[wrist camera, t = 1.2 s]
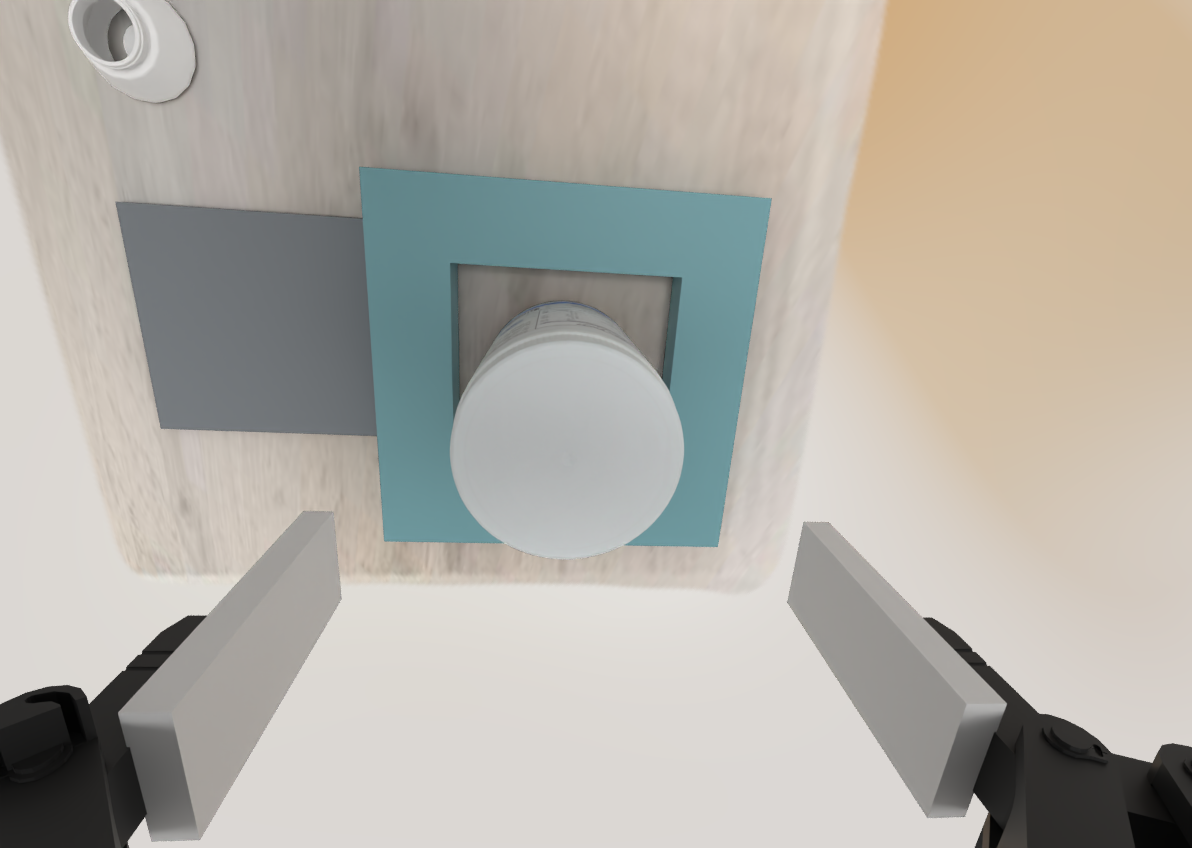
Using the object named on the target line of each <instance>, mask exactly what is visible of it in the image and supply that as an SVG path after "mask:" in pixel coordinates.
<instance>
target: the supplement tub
mask: <svg viewBox="0 0 1192 848" xmlns="http://www.w3.org/2000/svg"><path fill="white" fill-rule="evenodd" d="M683 459H684V439H683V431H682V426H681V422H680V418H679V415H678V412H677V410H676V407H675V404H674V401H673V399H672V397H671V394H670V392H669V390H668V388H667V386H666V385H665V383H664V382H663V380H662V379H661V377H660V376H659V374H658V373H657V372H656V370H655V369H654V368H653V367H652V365H651V364H650V363H649V361H648V360H647V359H646V358H645V357H644V355H643V354H642V353H641V352H640V351H639V349H638V348H637V347H636V346H635V345H634V343H633V342H632V341H631V340H630V339H629V337H628V336H627V335H626V334H625V333H624V332H623V330H622V329H621V328H620V327H619V326H618V325H617V324H616V323H615V322H614V321H613V320H612V319H611V318H609V317H608V316H607V315H605V314H604V313H602V312H601V311H599V310H597V309H595V308H593V307H591V306H588V305H585V304H581V303H577V302H571V301H554V302H547V303H542V304H538V305H536V306H533V307H530V308H528V309H527V310H525V311H523V312H521V313H520V314H518V315H517V316H515V317H514V318H513V319H512V320H511V321H509V322H508V323H507V325H506V326H505V327H504V328H503V329H502V330H501V332H500V333H499V334H498V336H497V337H496V339H495V340H494V342H493V344H492V345H491V347H490V348H489V350H488V351H487V353H486V355H485V356H484V358H483V360H482V361H481V363H480V364H479V366H478V368H477V369H476V371H475V373H474V375H473V376H472V378H471V380H470V381H469V383H468V385H467V387H466V389H465V391H464V393H463V394H462V396H461V399H460V402H459V404H458V407H457V410H456V414H455V418H454V423H453V428H452V434H451V440H450V462H451V469H452V474H453V478H454V482H455V484H456V487H457V490H458V492H459V495H460V497H461V499H462V501H463V502H464V504H465V506H466V508H467V509H468V510H469V512H470V513H471V514H472V516H473V517H474V518H475V519H476V520H477V522H478V523H479V524H480V525H481V526H482V527H483V528H484V529H485V530H487V531H488V532H489V533H490V534H491V535H493V536H494V537H495V538H497V539H498V540H500V541H502V542H503V543H505V544H507V545H508V546H510V547H513V548H515V549H517V550H519V551H522V552H525V553H527V554H530V555H534V556H539V557H543V558H550V559H567V560H570V559H581V558H588V557H592V556H596V555H600V554H604V553H607V552H610V551H612V550H614V549H617V548H619V547H621V546H623V545H625V544H627V543H629V542H630V541H632V540H633V539H635V538H636V537H638V536H639V535H640V534H642V533H643V532H644V531H645V530H646V529H648V528H649V527H650V526H651V525H652V524H653V523H654V522H655V520H656V519H657V518H658V517H659V516H660V515H661V513H662V512H663V511H664V509H665V508H666V506H667V505H668V503H669V502H670V500H671V498H672V496H673V494H674V492H675V490H676V487H677V485H678V483H679V479H680V475H681V471H682V466H683Z"/></svg>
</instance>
